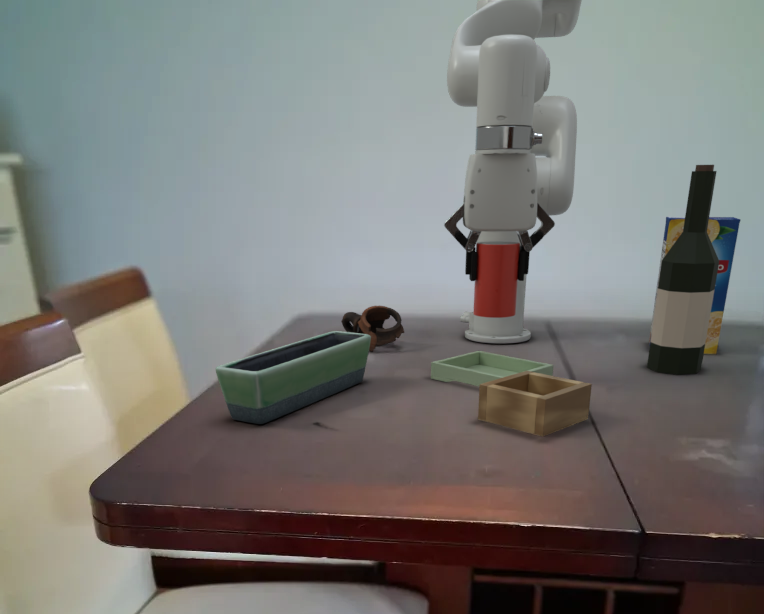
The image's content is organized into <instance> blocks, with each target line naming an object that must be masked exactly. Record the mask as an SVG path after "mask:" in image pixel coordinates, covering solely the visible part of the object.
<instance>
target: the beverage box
mask: <svg viewBox="0 0 764 614" xmlns="http://www.w3.org/2000/svg"><path fill="white" fill-rule="evenodd" d="M684 221H685V216H666V217H665V225H664V232H663V240H662V246H661V253H660V261H659V262H660V263H659V268H658V275H657V281H656V283H657V284H656V289H655V297H654V302H653V303H654V304H653V310H652V317H651V318H652V319H651V326H650V332H649V339H648V345H649V347H650V342H651V334H652V327H653V320H654V313H655V306H656V299H657V291H658V284H659V277H660V270H661V263H662V260H663V258H664V257H665V255H666V254H667V253H668V251H669V250H670V249H671V247H672V246H673V245H674V243H675V242H676V241H677V239H678V238H679V236H680V235H681V234H682V232H683V228H684ZM740 222H741V219H740V218H737V217H734V216H709V221H708V228H707V233H708V236H709V238H710V241H711V243H712V245H713V248H714V250H715V252H716V255H717V257H718V259H719V266H718V272H717V278H716V284H715V289H714V295H713V301H712V307H711V313H710V319H709V325H708V331H707V337H706V342H705V348H704V354H703V355H717V353H718V347H719V341H720V335H721V331H722V324H723V318H724V312H725V307H726V302H727V296H728V292H729V291H728V290H729V286H730V285H729V284H730V279H731V273H732V269H733V262H734V257H735V252H736V251H735V250H736V246H737V240H738V235H739V229H740V224H741V223H740Z"/></svg>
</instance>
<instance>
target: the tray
mask: <svg viewBox="0 0 764 614" xmlns="http://www.w3.org/2000/svg"><path fill="white" fill-rule="evenodd" d="M524 371H531V372H536V373H541V374H545V375H550V376H554V364H552V363H546V362H540V361H536V360H530V359H525V358H519V357H514V356H510V355H504V354H499V353H495V352H494V353H493V352H488V351H483V350H475V351H472V352H467V353H463V354H459V355H456V356H452V357H451V356H450V357H446V358H443V359H439V360H434V361H431V362H430V380H431V379H432V380H435V381H440V382H444V383H450V382H458V383H463V384H466V385H472V386H475V387H480V384H482V383H486V382H489V381H493V380H496V379H500V378H503V377H507V376H510V375H514V374H517V373H521V372H524Z"/></svg>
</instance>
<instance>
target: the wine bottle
mask: <svg viewBox="0 0 764 614" xmlns="http://www.w3.org/2000/svg"><path fill="white" fill-rule="evenodd" d="M717 173H718V172H717V170H715V164H695V170H691V175H690V182H689V189H688V195H687V201H686V209H685V214H684V217H685V221H684V228H683V232H682V234H681V235H680V236H679V238H678V239H677V241H676V242H675V243H674V245H673V246H672V247H671V249H670V250H669V251H668V253H667V254H666V255H665V257H664V258H663V260H662V263H661V270H660V277H659V284H658V291H657V299H656V306H655V313H654V320H653V327H652V334H651V342H650V346H649V349H648V356H647V364H646V368H647V369H648V370H651V371H654V372H656V373H659V374H670V375H677V376H679V375H696V374H698V373H699V372H700V371H701V370H702V366H703V359H704V355H705V354H704V348H705V342H706V337H707V331H708V325H709V319H710V313H711V307H712V301H713V295H714V289H715V284H716V278H717V272H718V266H719V259H718V257H717V255H716V252H715V250H714V248H713V245H712V243H711V241H710V238H709V236H708V233H707V228H708V221H709V217H710V215H711V208H712V202H713V196H714V189H715V184H716V177H717Z"/></svg>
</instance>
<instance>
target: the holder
mask: <svg viewBox="0 0 764 614" xmlns="http://www.w3.org/2000/svg"><path fill="white" fill-rule="evenodd" d="M592 385H593V384H592V383H589V382H585V381H580V380H576V379H575V380H574V379H570V378H566V377H559V376H555V375H553V376H550V375H545V374H541V373H536V372H531V371H524V372H521V373H517V374H514V375H510V376H507V377H503V378H500V379H496V380H493V381H489V382H486V383H482V384H480V386H478V389H479V391H478V394H479V395H478V407H477V408H478V410H477V420H479V421H483V422H487V423H491V424H495V425H498V426H502V427H505V428H509V429H513V430H516V431H520V432H523V433H528V434H531V435H536V436H539V437H542V438H543V437H546V436H548V435H551V434H553V433H555V432H558V431H561V430H564V429H567V428H568V427H571V426H574V425H577V424H579V423H581V422H584V421H587V420H588V419H589V412H590V404H591V395H592V387H593V386H592Z"/></svg>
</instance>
